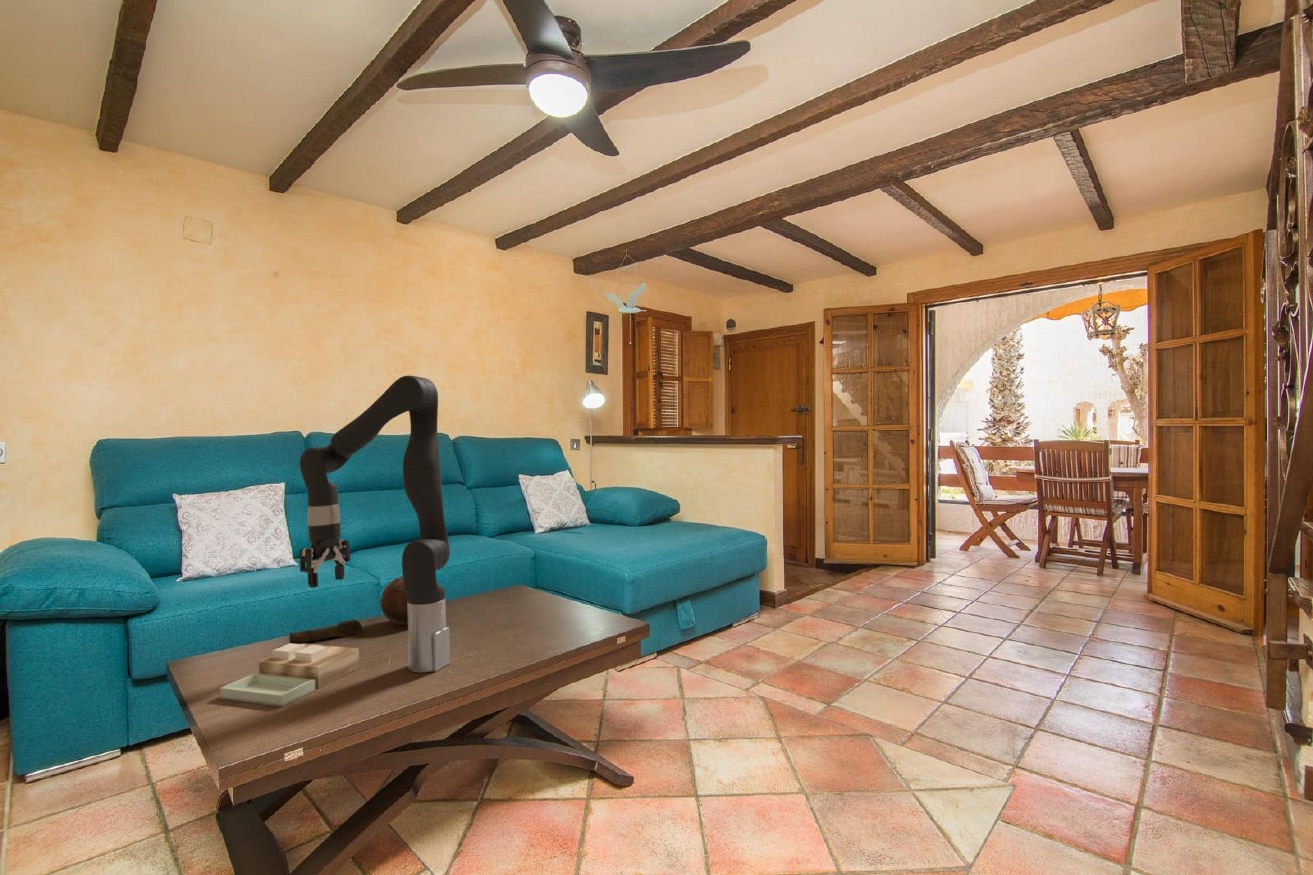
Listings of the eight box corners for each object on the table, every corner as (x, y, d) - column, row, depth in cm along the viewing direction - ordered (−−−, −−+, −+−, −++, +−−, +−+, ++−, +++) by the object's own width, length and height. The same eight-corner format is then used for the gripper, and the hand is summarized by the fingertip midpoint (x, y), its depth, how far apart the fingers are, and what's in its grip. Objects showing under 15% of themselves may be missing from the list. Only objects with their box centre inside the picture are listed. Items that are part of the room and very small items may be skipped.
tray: (315, 690, 143) (315, 679, 143) (282, 706, 134) (282, 695, 134) (255, 683, 148) (255, 672, 148) (220, 698, 139) (220, 688, 139)
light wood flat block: (359, 667, 157) (358, 648, 157) (318, 688, 144) (318, 667, 144) (303, 662, 162) (302, 643, 161) (259, 681, 149) (258, 661, 149)
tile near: (327, 654, 153) (327, 646, 153) (311, 662, 148) (311, 653, 148) (311, 653, 154) (311, 645, 154) (295, 660, 149) (294, 652, 149)
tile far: (305, 652, 154) (305, 644, 154) (288, 659, 150) (288, 651, 150) (289, 651, 156) (289, 643, 156) (272, 658, 151) (272, 650, 151)
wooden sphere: (440, 622, 194) (439, 575, 194) (394, 634, 183) (393, 584, 183) (417, 613, 204) (416, 569, 204) (372, 624, 193) (371, 577, 193)
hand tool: (289, 648, 173) (289, 632, 173) (289, 644, 176) (289, 628, 176) (362, 636, 183) (362, 621, 183) (361, 632, 186) (361, 617, 186)
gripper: (313, 526, 153) (316, 590, 153) (356, 518, 166) (358, 577, 166) (290, 526, 155) (292, 589, 155) (334, 518, 168) (336, 576, 168)
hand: (327, 583), depth 161 cm, fingers open, 8 cm apart
